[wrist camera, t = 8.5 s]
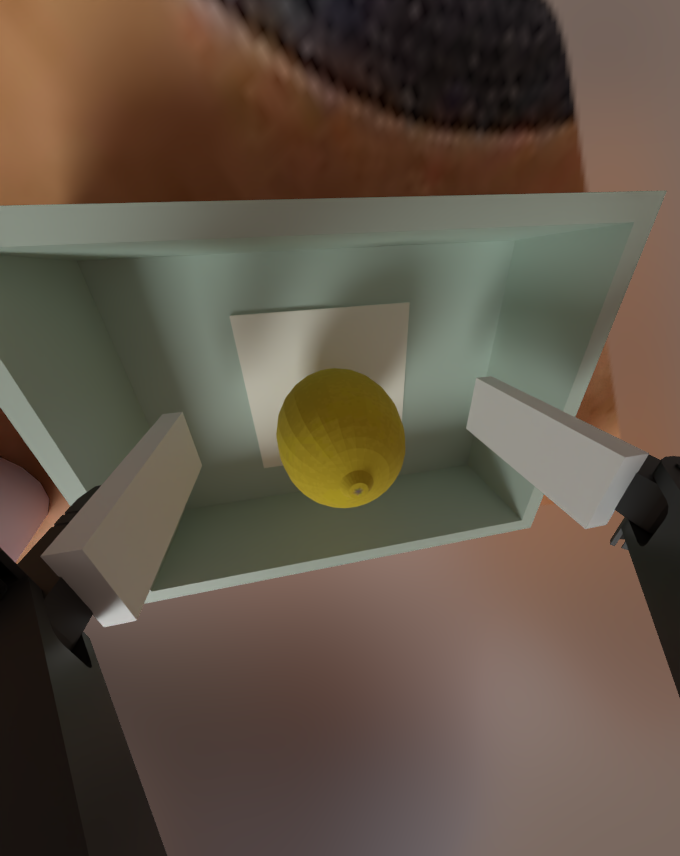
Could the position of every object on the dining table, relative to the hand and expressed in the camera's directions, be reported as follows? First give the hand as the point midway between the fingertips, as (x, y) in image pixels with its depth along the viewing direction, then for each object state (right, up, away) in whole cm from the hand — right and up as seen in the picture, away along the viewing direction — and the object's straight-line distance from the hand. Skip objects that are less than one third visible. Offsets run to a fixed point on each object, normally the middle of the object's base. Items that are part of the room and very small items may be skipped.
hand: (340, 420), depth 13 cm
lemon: (-1, +1, +4) cm, 4 cm away
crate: (-1, +2, +4) cm, 5 cm away
